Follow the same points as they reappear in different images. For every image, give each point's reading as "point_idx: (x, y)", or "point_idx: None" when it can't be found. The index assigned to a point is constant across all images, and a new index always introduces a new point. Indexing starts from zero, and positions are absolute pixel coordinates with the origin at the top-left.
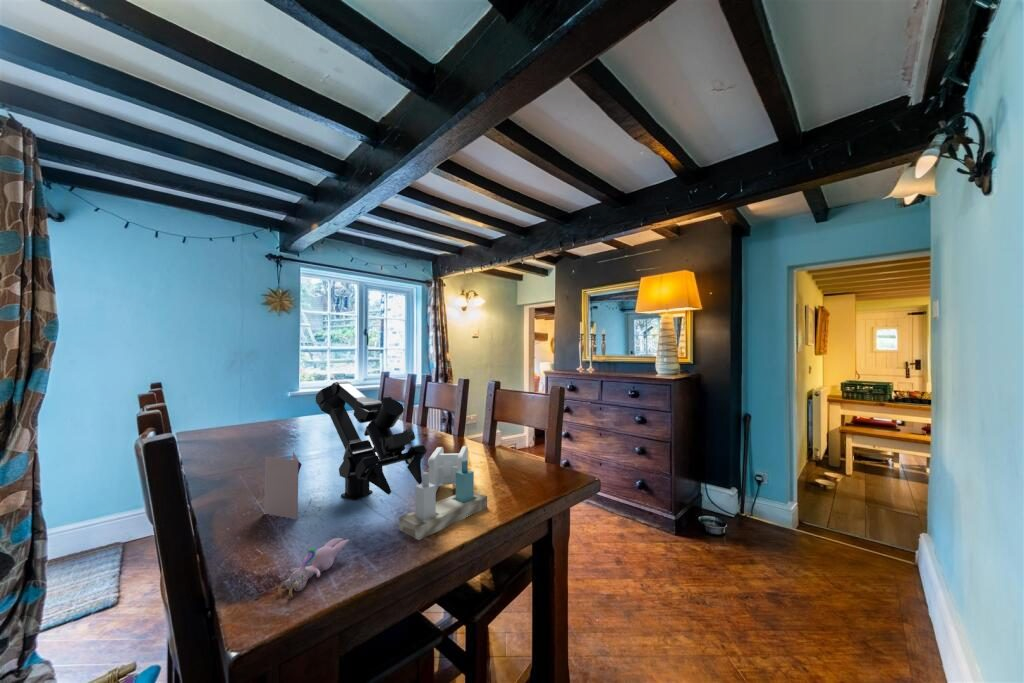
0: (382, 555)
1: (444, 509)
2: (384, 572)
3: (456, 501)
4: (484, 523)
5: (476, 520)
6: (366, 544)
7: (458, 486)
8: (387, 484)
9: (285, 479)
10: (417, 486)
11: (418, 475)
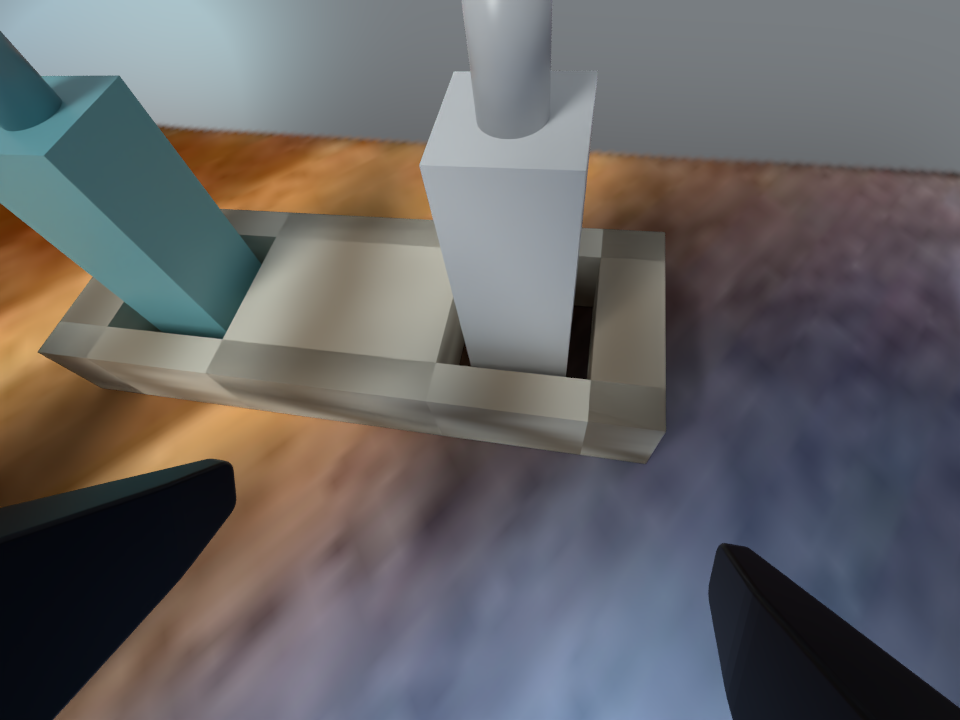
0: (881, 320)
1: (397, 270)
2: (932, 216)
3: (258, 287)
4: (355, 178)
5: (340, 214)
6: (922, 499)
7: (163, 229)
8: (804, 625)
9: None
10: (582, 149)
11: (143, 498)
